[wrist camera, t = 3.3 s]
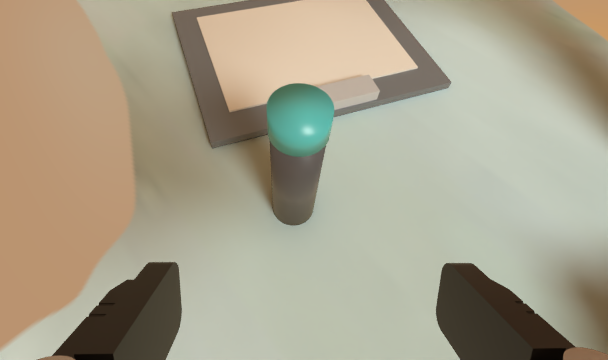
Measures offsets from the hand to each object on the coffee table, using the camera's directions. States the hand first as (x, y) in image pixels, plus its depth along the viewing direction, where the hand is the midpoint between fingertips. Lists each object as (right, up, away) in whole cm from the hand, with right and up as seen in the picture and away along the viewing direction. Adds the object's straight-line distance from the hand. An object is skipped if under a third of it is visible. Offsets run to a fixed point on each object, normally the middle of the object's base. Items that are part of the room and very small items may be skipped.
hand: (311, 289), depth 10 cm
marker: (-1, +1, +18) cm, 18 cm away
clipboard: (0, +18, +28) cm, 33 cm away
